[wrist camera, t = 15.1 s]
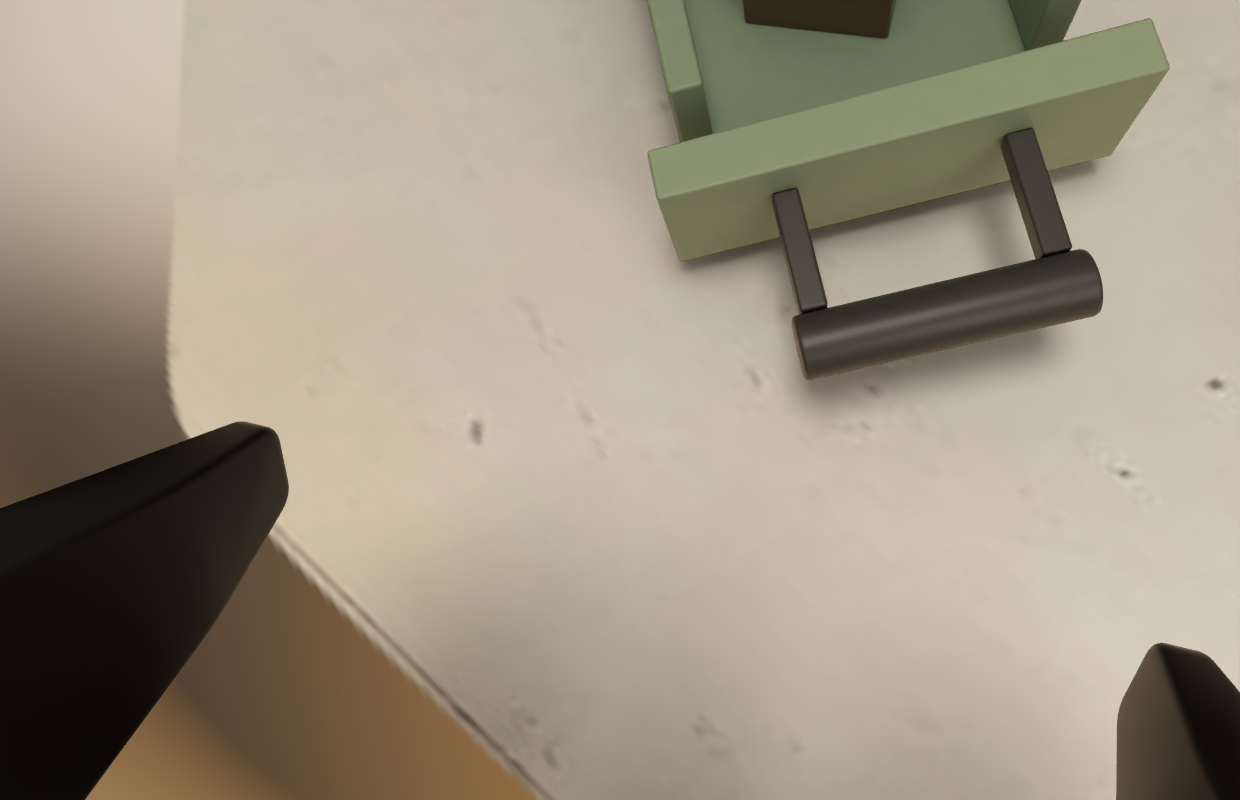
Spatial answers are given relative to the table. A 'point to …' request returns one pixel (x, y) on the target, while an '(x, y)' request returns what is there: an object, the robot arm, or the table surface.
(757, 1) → the walnut block
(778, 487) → the table surface
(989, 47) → the drawer
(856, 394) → the table surface
